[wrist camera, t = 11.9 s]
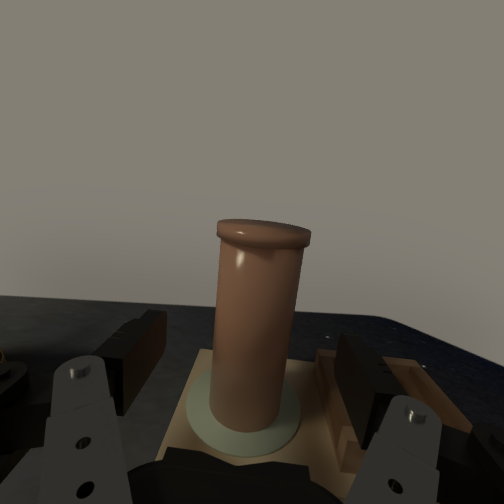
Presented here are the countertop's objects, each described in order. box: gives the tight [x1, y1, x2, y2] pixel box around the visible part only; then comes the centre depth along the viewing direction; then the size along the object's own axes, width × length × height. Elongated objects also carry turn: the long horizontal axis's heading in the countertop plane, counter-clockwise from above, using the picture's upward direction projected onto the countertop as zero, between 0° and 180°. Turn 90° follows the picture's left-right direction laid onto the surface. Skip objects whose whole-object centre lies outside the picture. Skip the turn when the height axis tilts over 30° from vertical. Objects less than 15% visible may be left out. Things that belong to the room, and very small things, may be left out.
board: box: [155, 349, 473, 504], centre depth 20 cm, size 22×12×4 cm, turn 87°
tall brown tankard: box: [209, 219, 311, 433], centre depth 20 cm, size 6×8×14 cm
